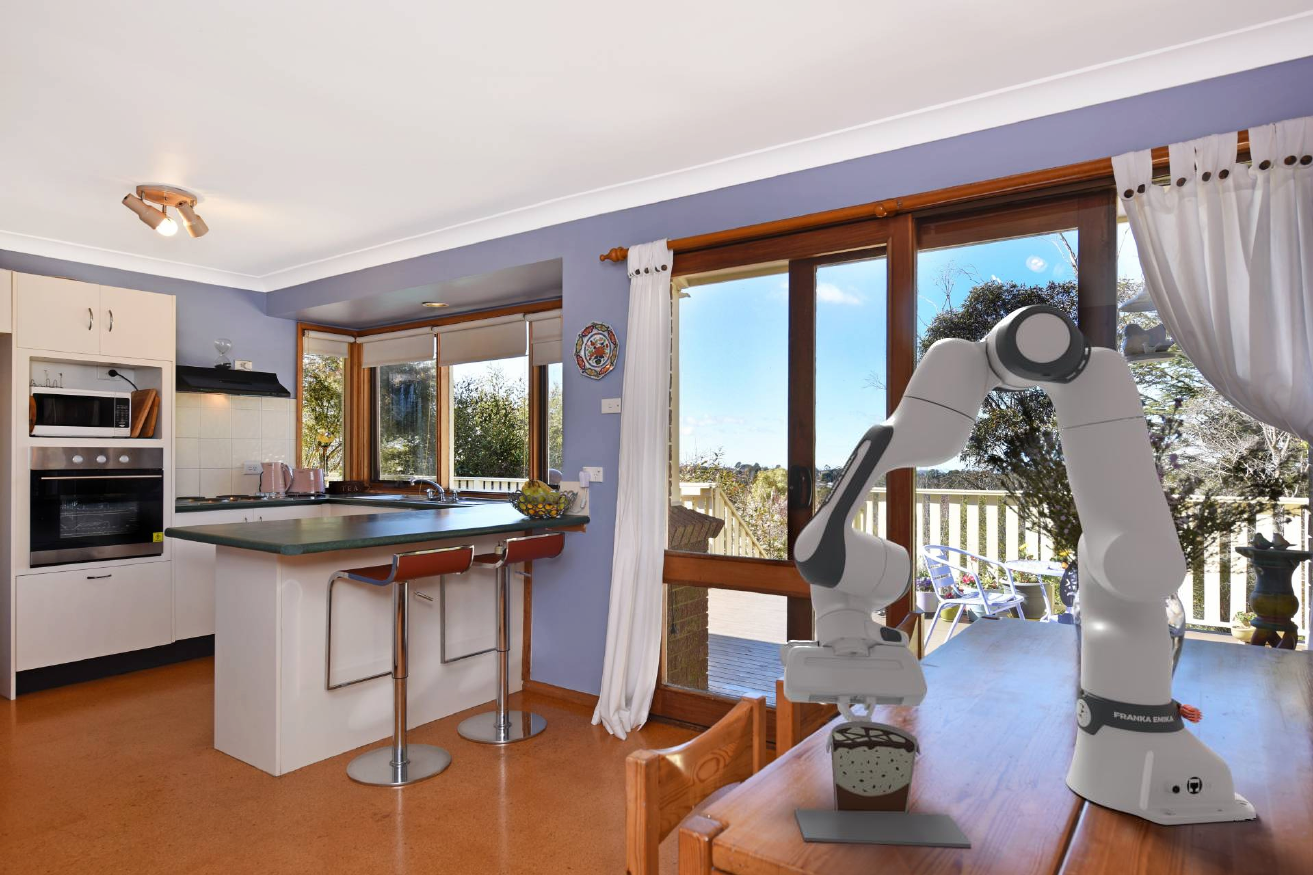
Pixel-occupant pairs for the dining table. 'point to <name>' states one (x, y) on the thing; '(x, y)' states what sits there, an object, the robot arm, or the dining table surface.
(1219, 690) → the dining table surface
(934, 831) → the charcoal rubber mat
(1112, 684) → the robot arm
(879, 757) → the food container
